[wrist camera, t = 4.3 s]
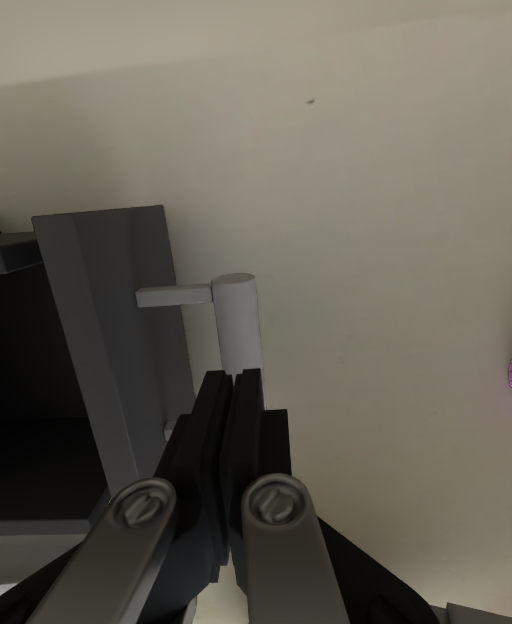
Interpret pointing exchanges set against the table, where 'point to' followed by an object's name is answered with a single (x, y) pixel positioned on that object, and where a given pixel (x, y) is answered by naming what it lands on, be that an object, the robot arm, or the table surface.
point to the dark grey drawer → (98, 361)
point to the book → (30, 555)
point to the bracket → (510, 374)
